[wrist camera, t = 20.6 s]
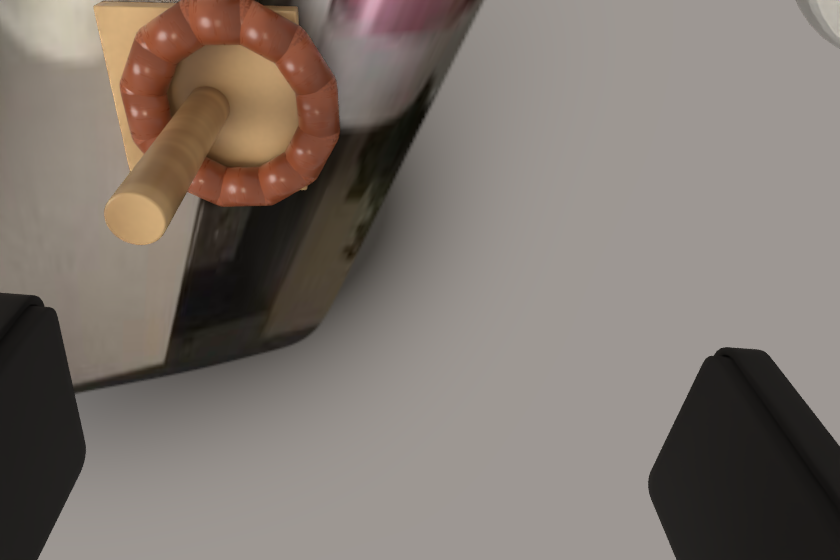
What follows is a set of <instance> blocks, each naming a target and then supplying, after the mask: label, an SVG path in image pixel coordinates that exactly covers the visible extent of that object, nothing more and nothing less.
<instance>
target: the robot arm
mask: <svg viewBox="0 0 840 560" xmlns="http://www.w3.org/2000/svg"><path fill="white" fill-rule="evenodd" d="M85 454H86V445H85V440H84V435H83V430H82V426H81V421H80V417H79V412H78V408H77V403H76V399H75V394H74V389H73V385H72V380H71V376H70V371H69V367H68V362H67V357H66V353H65V348H64V344H63V339H62V335H61V330H60V326H59V321H58V317H57V314H56V311H55V310H54V309H53V308H50V307H44V304H43V301H42V300H41V299H40V298H39V297H37V296H35V295H22V294H9V293H0V560H37V559H38V557H39V555H40V553H41V551H42V549H43V547H44V545H45V543H46V541H47V539H48V537H49V535H50V533H51V531H52V529H53V527H54V525H55V523H56V521H57V519H58V517H59V515H60V513H61V511H62V508H63V507H64V505H65V502H66V501H67V499H68V497H69V494H70V492H71V490H72V488H73V486H74V484H75V482H76V480H77V478H78V476H79V474H80V472H81V470H82V467H83V464H84V460H85ZM648 488H649V494H650V497H651V500H652V502H653V504H654V507H655V509H656V512H657V514H658V516H659V519H660V521H661V524H662V526H663V528H664V531H665V533H666V535H667V538H668V540H669V543H670V545H671V548H672V550H673V552H674V555H675V557H676V560H840V446H839V445H838V444H837V442H836V441H835V440H834V439H833V437H832V436H831V435H830V433H829V432H828V431H827V430H826V429H825V427H824V426H823V424H822V423H821V422H820V420H819V419H818V418H817V417H816V415H815V414H814V413H813V411H812V410H811V409H810V408H809V406H808V405H807V404H806V402H805V401H804V400H803V399H802V397H801V396H800V395H799V394H798V392H797V391H796V390H795V388H794V387H793V386H792V384H791V383H790V382H789V380H788V379H787V378H786V377H785V375H784V374H783V373H782V372H781V370H780V369H779V368H778V366H777V365H776V364H775V362H774V361H773V360H772V359H771V357H770V356H769V355H768V354H767V353H766V352H764V351H761V350H756V349H743V348H730V347H725V348H721V349H719V350H718V351H717V352H716V353H715V355H714V356H709V357H708V358H706V359H705V361H704V362H703V364H702V366H701V368H700V370H699V373H698V374H697V376H696V379H695V381H694V383H693V385H692V387H691V389H690V391H689V393H688V395H687V398H686V399H685V401H684V404H683V405H682V408H681V410H680V412H679V414H678V416H677V418H676V420H675V422H674V424H673V427H672V428H671V430H670V433H669V435H668V437H667V439H666V441H665V443H664V445H663V447H662V449H661V451H660V453H659V456H658V458H657V459H656V462H655V464H654V466H653V468H652V470H651V472H650V475H649V481H648Z"/></svg>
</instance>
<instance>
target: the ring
mask: <svg viewBox="0 0 840 560" xmlns="http://www.w3.org/2000/svg"><path fill="white" fill-rule="evenodd" d="M205 45H242V46H243V47H245V48H247V49H249V50H251V51H253V52H254V53H256V54H258V55H260V56H262V57H264V58H266V59H267V60H269V61H271V62H273V63H275V65H276V66H277V68H278V69H279V70H280V72H281V73H282V75H283V76H284V78H285V79H286V81H287V82H288V84H289V85H290V86H291V88H292V89H293V91H294V92H295V96H296V106H297V116H298V127H297V129H296V131H295V133H294V135H293V137H292V139H291V141H290V143H289V145H288V147H287V149H286V151H285V152H283V153H282V154H280V155H278V156H277V157H275V158H273V159H272V160H270V161H268V162H267V163H265V164H263V165H262V166H254V167H227V166H224V165H222V164H220V163H218V162H216V161H214V160H212V159H210V158H207V157H206V158H205V160H204V162H203V163H202V165H201V167H200V169H199V171H198V173H197V174H196V176H195V178H194V180H193V182H192V184H191V185H190V187H189V189H188V191H187V192H189V193H191V194H193V195H195V196H198V197H200V198H202V199H204V200H207V201H209V202H211V203H213V204H216V205H218V206H225V207H227V206H269V205H274V204H276V203H278V202H279V201H281V200H283V199H285V198H286V197H288V196H290V195H292V194H293V193H295V192H297V191H299V190H300V189H302V188H304V187H306V186H307V185H309V184H311V183H312V182H314V181H315V180H316V179H317V178H318V176H319V174H320V172H321V170H322V169H323V167H324V165H325V163H326V161H327V159H328V157H329V156H330V154H331V152H332V150H333V148H334V146H335V144H336V143H337V141H338V138H339V135H340V122H339V105H338V89H337V81H336V78H335V76H334V74H333V73H332V71H331V70H330V68H329V67H328V65H327V64H326V62H325V60H324V59H323V57H322V56H321V54H320V53H319V51H318V49H317V48H316V46H315V45H314V43H313V42H312V40H311V39H310V37H309V35H308V34H307V32H306V31H305V30H304V29H303V28H302V27H300V26H299V25H297V24H295V23H294V22H292V21H290V20H288V19H287V18H285V17H283V16H281V15H280V14H278V13H276V12H274V11H273V10H271V9H269V8H267V7H266V6H264V5H262V4H260V3H258V2H257V1H255V0H180V1H179V2H177V3H176V4H175V5H173V6H172V7H170V8H169V9H167V10H166V11H164V12H163V13H161V14H160V15H159V16H157V17H156V18H154V19H153V20H151V21H150V22H148V23H147V24H145V25H144V26H143V27H141V28H140V29H139V30H138V32H137V33H136V35H135V38H134V41H133V44H132V47H131V49H130V52H129V55H128V58H127V61H126V64H125V67H124V70H123V73H122V76H121V79H120V83H119V87H120V93H121V97H122V101H123V105H124V109H125V113H126V117H127V121H128V126H129V130H130V134H131V137H132V140H133V142H134V143H135V144H136V146H137V147H138V148H139V149H140V150H141V151H142V153H143V154H145V152H146V151H147V150H148V149H149V147H150V146H151V145H152V143H153V142H154V141H155V139H156V138H157V137H158V135H159V134H160V133H161V132H162V130H163V129H164V128H165V126H166V125H167V124H168V122H169V121H170V120H171V119H172V115H171V110H170V105H169V100H168V95H167V91H168V88H169V86H170V83H171V80H172V78H173V75H174V72H175V70H176V67H177V65H178V63H179V62H181V61H182V60H184V59H185V58H187V57H188V56H190V55H191V54H193V53H194V52H196V51H197V50H199V49H200V48H202V47H203V46H205Z"/></svg>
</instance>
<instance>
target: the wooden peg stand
mask: <svg viewBox="0 0 840 560" xmlns="http://www.w3.org/2000/svg"><path fill="white" fill-rule="evenodd" d="M175 4H176V3H152V2H116V1H102V2H100V3H98V4H96V5H94V7H93V8H94V12H95V17H96V21H97V26H98V30H99V35H100V39H101V44H102V48H103V52H104V57H105V61H106V66H107V70H108V75H109V79H110V84H111V88H112V93H113V97H114V102H115V106H116V111H117V115H118V120H119V124H120V129H121V133H122V138H123V142H124V147H125V151H126V156H127V160H128V164H129V169H130V173H129V175H128V176H127V177H126V179H125V180H124V181H123V182H122V184H121V185H120V186H119V188H118V189H117V190H116V192H115V193H114V194H113V196H112V197H111V198H110V199H109V201H108V202H107V204H106V206H105V210H104V216H105V221H106V224H107V226H108V227H109V229H110V230H111V231H112V233H113V234H114V235H116V236H117V237H118V238H120V239H121V240H123V241H125V242H128V243H131V244H135V245H146V244H150V243H153V242H155V241H157V240H159V239H160V238H161V237H162V236H163V234H164V233H165V231H166V229H167V227H168V225H169V224H170V222H171V220H172V218H173V216H174V214H175V213H176V211H177V209H178V207H179V205H180V204H181V202H182V200H183V198H184V196H185V194H186V193H187V191H188V189H189V187H190V185H191V184H192V182H193V180H194V178H195V176H196V174H197V173H198V171H199V169H200V167H201V165H202V163H203V162H204V160H205V158H206V157H207V158H210V159H212V160H214V161H216V162H218V163H220V164H222V165H224V166H227V167H254V166H262V165H263V164H265V163H267V162H268V161H270V160H272V159H273V158H275V157H277V156H278V155H280V154H282V153H283V152H285V151H286V149H287V147H288V145H289V143H290V141H291V139H292V137H293V135H294V133H295V131H296V129H297V127H298V116H297V106H296V96H295V92H294V91H293V89H292V88H291V86H290V85H289V84H288V82H287V81H286V79H285V78H284V76H283V75H282V73H281V72H280V70H279V69H278V68H277V66H276V65H275V63H273V62H271V61H269V60H267V59H266V58H264V57H262V56H260V55H258V54H256V53H254V52H253V51H251V50H249V49H247V48H245V47H243V46H242V45H205V46H203V47H202V48H200V49H199V50H197V51H196V52H194V53H193V54H191V55H190V56H188V57H187V58H185V59H184V60H182V61H181V62H179V63H178V65H177V67H176V70H175V72H174V75H173V78H172V80H171V83H170V86H169V88H168V91H167V95H168V100H169V105H170V110H171V115H172V119H171V120H170V121H169V122H168V124H167V125H166V126H165V128H164V129H163V130H162V132H161V133H160V134H159V135H158V137H157V138H156V139H155V141H154V142H153V143H152V145H151V146H150V147H149V149H148V150H147V151H146V152H145V154H143V153H142V151H141V150H140V149H139V148H138V147H137V146H136V144H135V143H134V142H133V140H132V137H131V134H130V130H129V126H128V121H127V117H126V113H125V109H124V105H123V101H122V97H121V93H120V87H119V83H120V79H121V76H122V73H123V70H124V67H125V64H126V61H127V58H128V55H129V52H130V49H131V47H132V44H133V41H134V38H135V35H136V33H137V32H138V30H139V29H140V28H141V27H143V26H144V25H145V24H147V23H148V22H150V21H151V20H153V19H154V18H156V17H157V16H159V15H160V14H161V13H163V12H164V11H166V10H167V9H169V8H170V7H172V6H173V5H175ZM266 7H267V8H269V9H271V10H273V11H274V12H276V13H278V14H280V15H281V16H283V17H285V18H287V19H288V20H290V21H292V22H294V23H295V24H297V25H299V18H298V8H297V7H296V6H266ZM306 189H307V186H306V187H304V188H302V189H300V190H306Z"/></svg>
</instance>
